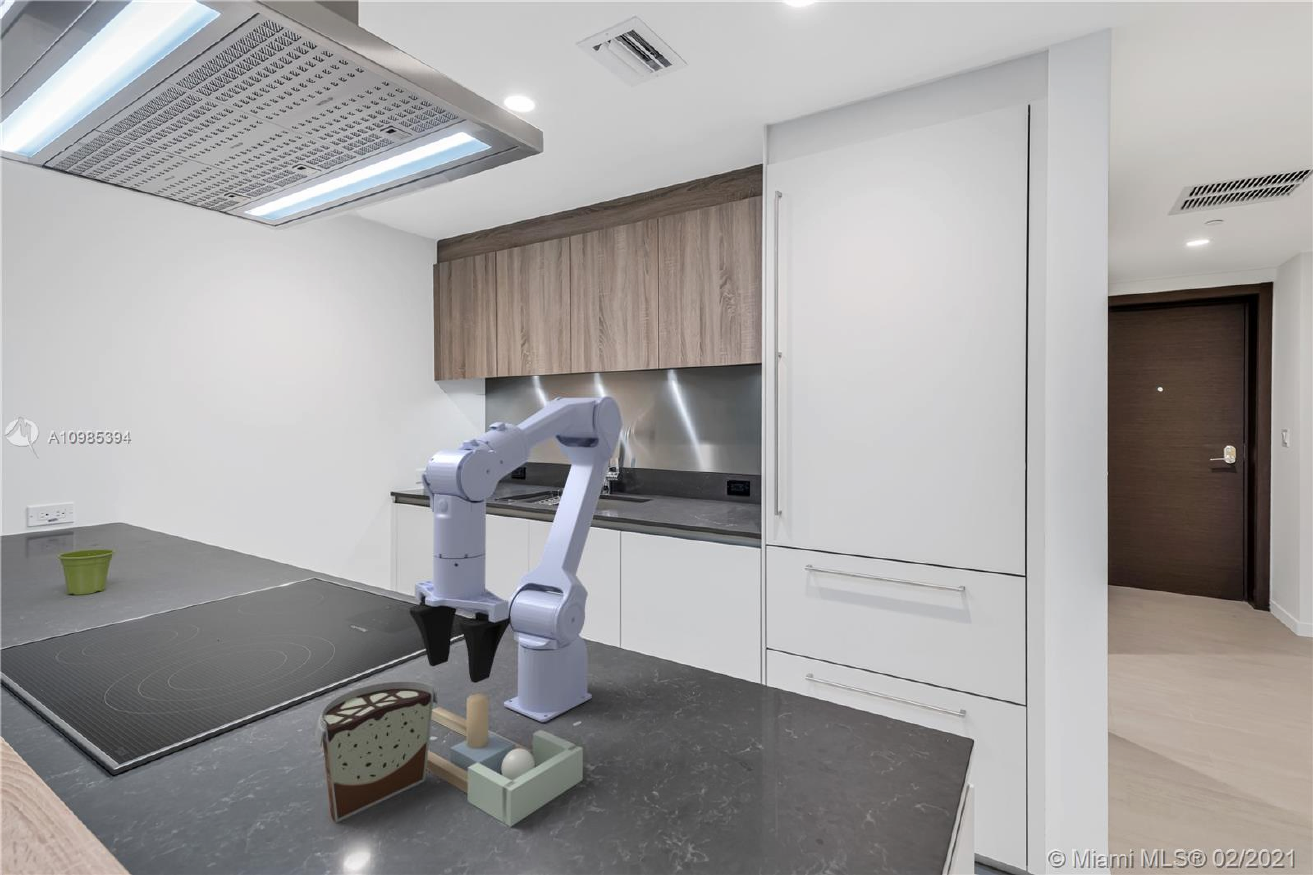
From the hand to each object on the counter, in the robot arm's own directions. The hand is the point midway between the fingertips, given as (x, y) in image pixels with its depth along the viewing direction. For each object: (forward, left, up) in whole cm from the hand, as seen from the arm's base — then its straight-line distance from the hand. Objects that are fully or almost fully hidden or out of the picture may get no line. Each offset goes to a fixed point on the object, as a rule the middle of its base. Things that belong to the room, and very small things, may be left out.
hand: (458, 671), depth 71 cm
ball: (-1, +9, -8) cm, 13 cm away
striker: (0, +3, -10) cm, 10 cm away
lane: (0, -2, -10) cm, 10 cm away
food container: (+10, -2, -10) cm, 14 cm away
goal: (0, +11, -10) cm, 15 cm away
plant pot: (+9, -123, -10) cm, 124 cm away
